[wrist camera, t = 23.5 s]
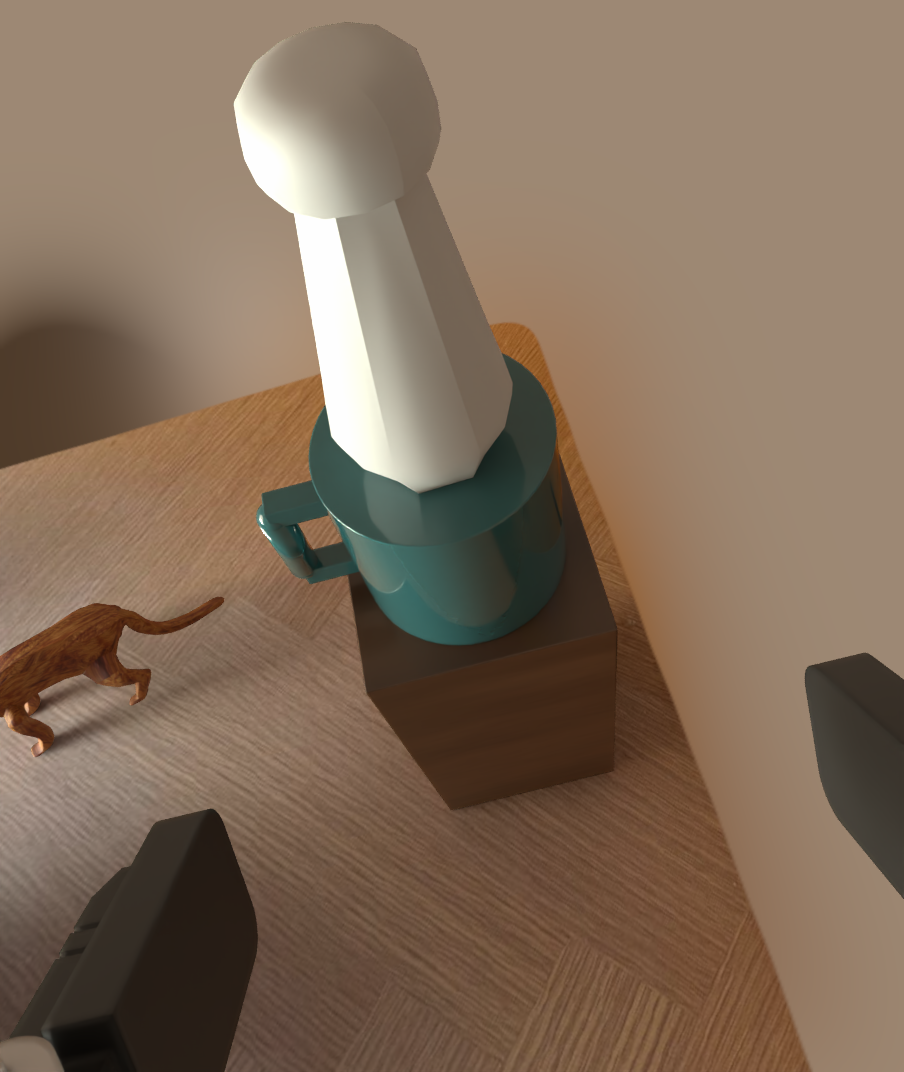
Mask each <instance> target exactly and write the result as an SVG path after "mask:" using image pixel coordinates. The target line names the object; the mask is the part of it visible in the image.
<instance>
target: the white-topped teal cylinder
mask: <svg viewBox="0 0 904 1072" xmlns="http://www.w3.org/2000/svg"><path fill="white" fill-rule="evenodd" d="M502 356H503V359H504V361H505V364H506V366H507V369H508V372H509V374H510V377H511V380H512V382H513V385H512V397H511V401H510V406H509V410H508V415H507V420H506V424H505V428H504V429H503V431H502V432H501V433H500V435H499V436H498V437H497V439H496V440H495V441H494V443H493V444H492V446H491V447H490V448H489V450H488V451H487V452H486V454H485V455H484V457H483V459H482V461H481V463H480V465H479V467H478V469H477V471H476V473H475V475H474V477H473V478H470V479H466V480H463V481H460V482H456V483H453V484H450V485H446V486H443V487H439V488H436V489H433V490H429V491H426V492H423V493H417V492H415V491H414V490H412V489H410V488H408V487H407V486H405V485H403V484H402V483H400V482H398V481H396V480H393V479H390V478H387V477H384V476H382V475H379V474H376V473H373V472H370V471H368V470H365V469H363V468H362V467H361V466H360V465H359V464H358V463H357V462H356V461H355V460H354V459H353V458H352V457H351V456H349V455H348V454H347V453H346V452H345V451H344V450H343V449H342V448H341V447H340V446H339V445H338V444H337V442H336V441H335V440H334V439H333V438H332V436H331V431H330V425H329V420H328V414H327V409H326V404H325V406H324V408H323V410H322V411H321V413H320V415H319V417H318V419H317V421H316V424H315V426H314V429H313V432H312V436H311V440H310V447H309V470H310V475H311V479H312V480H311V481H307V482H303V483H299V484H296V485H292V486H288V487H284V488H280V489H276V490H272V491H269V492H265V493H262V505H261V506H260V507H259V508H258V510H257V514H256V520H257V523H258V525H259V527H260V528H261V530H262V531H263V533H264V534H265V535H266V537H267V538H268V540H269V541H270V543H271V544H272V546H273V547H274V548H275V550H276V551H277V553H278V554H279V556H280V557H281V558H282V560H283V561H284V563H285V564H286V566H287V567H288V569H289V570H290V571H291V573H292V574H293V575H294V576H296V577H298V578H301V579H307V581H308V582H309V584H313V583H317V582H321V581H325V580H329V579H333V578H337V577H341V576H345V575H349V574H352V573H356V572H360V574H361V576H362V578H363V580H364V582H365V583H366V585H367V587H368V589H369V591H370V593H371V594H372V596H373V598H374V600H375V601H376V603H377V605H378V606H379V608H380V609H381V610H382V612H383V613H384V614H385V615H386V616H387V617H388V618H389V619H390V620H391V621H392V622H393V623H394V624H395V625H397V626H398V627H400V628H401V629H403V630H404V631H406V632H407V633H409V634H411V635H414V636H416V637H418V638H420V639H423V640H426V641H430V642H434V643H439V644H444V645H472V644H477V643H483V642H487V641H490V640H494V639H497V638H500V637H502V636H504V635H506V634H509V633H511V632H513V631H514V630H516V629H518V628H519V627H521V626H523V625H524V624H526V623H527V622H528V621H529V620H531V619H532V618H533V617H534V616H536V614H537V613H538V612H539V611H540V610H541V609H542V608H543V607H544V606H545V605H546V604H547V602H548V601H549V600H550V598H551V597H552V595H553V594H554V592H555V590H556V588H557V586H558V585H559V582H560V579H561V577H562V574H563V571H564V567H565V562H566V552H567V545H566V533H565V521H564V509H563V498H562V486H561V474H560V462H559V451H558V439H557V427H556V418H555V414H554V410H553V406H552V404H551V401H550V399H549V397H548V394H547V393H546V391H545V390H544V388H543V386H542V385H541V383H540V382H539V381H538V380H537V379H536V378H535V376H534V375H533V374H532V373H531V372H530V371H529V370H527V369H526V368H525V367H524V366H523V365H522V364H520V363H519V362H517V361H516V360H514V359H512V358H511V357H509V356H507V355H505V354H503V353H502ZM324 516H329V517H330V519H331V521H332V523H333V525H334V527H335V528H336V530H337V532H338V534H339V536H340V538H341V539H342V541H343V542H341V543H337V544H333V545H329V546H325V547H321V548H318V549H314V550H313V548H312V547H311V545H310V543H309V542H308V540H307V538H306V537H305V535H304V534H303V532H302V530H301V529H300V527H299V525H298V524H297V523H301V522H305V521H309V520H312V519H316V518H320V517H324Z"/></svg>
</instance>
